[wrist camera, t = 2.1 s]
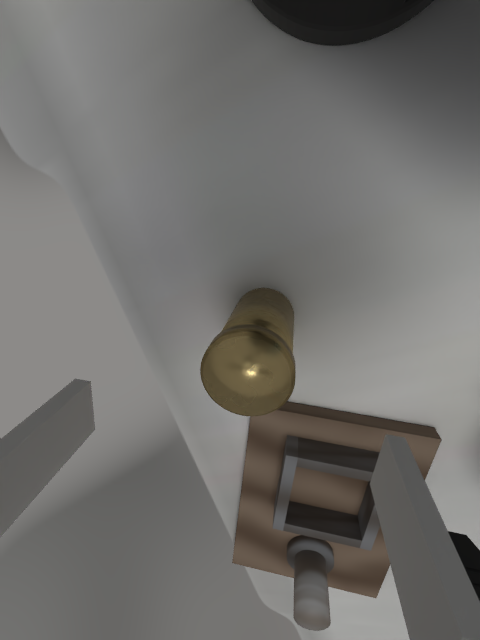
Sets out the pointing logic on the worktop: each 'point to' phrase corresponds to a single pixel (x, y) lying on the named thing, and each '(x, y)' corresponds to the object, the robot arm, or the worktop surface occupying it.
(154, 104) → the worktop surface
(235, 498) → the worktop surface
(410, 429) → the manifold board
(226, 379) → the gold tall rounded piece
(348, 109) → the worktop surface
